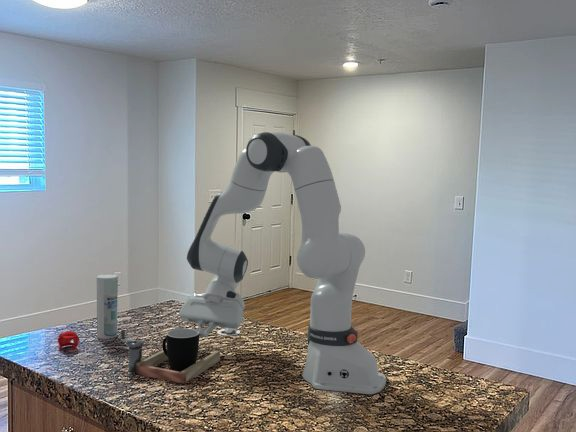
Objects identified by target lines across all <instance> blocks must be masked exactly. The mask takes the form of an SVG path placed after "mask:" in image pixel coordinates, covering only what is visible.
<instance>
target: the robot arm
mask: <svg viewBox="0 0 576 432" xmlns="http://www.w3.org/2000/svg"><path fill="white" fill-rule="evenodd" d="M275 172H276V173H287V174H288V175H289V176H290V179H291V180H292V185H293V189H294V193H295V198H296V201H297V202H296V203H297V204H298V209H299V215H300V219H301V241H300V242H301V244H300V246H299V248H298V251H297V255H296V262H297V266H298V268H299V271H300V272H301V273H302V275H304V276H306V277H308V278H309V279H318V280H317V284H316V286H315V289H314V291H313V292H312V293H311V297H310V309H309V310H310V313H309V324H308V327H307V328H308V329H307V346H308V347H307V348H308V349H307V355H306V360H305V365H304V369H303V371H302V374H301V375H302V379H304V380H305V381H306V382H308V383H309V384H311V385H312V387H313V388H314V389H316V390H323V391H334V392H343V393H353V394H365V395H374V394H377V393H379V392H381V391H382V390H383V389H384V388H385V387H386V384H387V377H386V376H385V373H382V372H380V371H379V367H378V363H377V359H376V357H375V355H374V354H373V353H371V352H370V351H369V350H368V349H367V348H366V347H364V346H363V345H362V344H361V343H360V342H359V341H358V338H359V329H355V328H354V327H353V326H352V310H353V309H352V307H353V305H352V303H353V297H354V291H355V287H356V283H357V278H358V275H359V271H360V267H361V265H362V263H363V262H364V259H365V258H366V248H365V245H364V242H363V241H362V240H361V239H360V238H359V237H358V236H355V235H353V234H350V233H346V232H340V230H339V225H340V223H339V219H340V214H341V211H342V206H341V205H342V204H341V202H340V201H341V200H340V197H339V194H338V191H337V187H336V182H335V179H334V176H333V172H332V169H331V167H330V164H329V162H328V160H327V157H326V156H325V154H324V151H323V150H322V149H321V148H319V147H318V146H315V145H311V143H310V142H309V141H308V140H307V139H306V138H304V137H303V136H301V135H297V134H289V133H285V132H269V131H268V132H267V131H264V132H259V133H257V134H255V135H253V136H251V138H250V139H249V140H248V142H247V144H246V148H244V149H242V151H240V154H239V155H238V158H237V160H236V162H235V165H234V168H233V170H232V174H231V177H230V181H229V184H228V186H227V187H226V188H225V189H224V191H219V192H217V194H216V195H215V196H214V197H213V199H212V201H211V202H210V205H209V207H208V209H207V211H206V213H205V216H204V217H203V219H202V222H201V223H200V227H199V229H198V230H197V233H196V235H195V236H194V239H193V241H192V242H191V244H190V246H189V248H188V251H187V254H186V260H187V263H188V264H189V265H190V268H191V269H192V270H196V271H202V272H206V273H209V274H212V275H213V276H212V279H211V281H209V283H208V285H207V288H206V290H205V292H204V294H196V293H194V294H192V295H190V296H188V297H187V298H186V300H185V302H184V304H183V305H182V307H181V308H180V310H179V312H178V315H179V317H180V319H181V320H182V321H183V322H186V323H192V324H193V323H194V324H197V328H198V329H197V331H198V332H199V338H200V337H201V338H208V337H209V334H210V333H212V332H213V331H214V330H215V329H216V327H219V328H220V327H221V328H225V327H226V328H233V329H237V330H238V328H240V327H241V325H242V322H243V318H244V314H245V313H244V309H245V307H246V304H245V301H244V300H243V298H242V296H241V295H240V294H239V293H237V292H236V290H237V287H238V286H239V285H240V282H242V281H243V279H244V277H245V274H246V272H247V269H248V266H249V265H248V264H249V261H248V258H247V256H246V254H245V252H244V251H243V250H241V249H239V248H236V247H233V246H229V245H225V244H223V243H219V242H216V241H214V240H213V239H212V234H213V232H214V230H215V228H216V226H217V224H218V222H219V219H220V218H221V217H222V216H225V215H231V214H233V215H235V214H236V215H237V214H246V213H250V212H252V211H254V210H256V209H258V208H259V207H260V206H261V205H262V203H263V201H264V198H265V195H266V193H267V189H268V185H269V181H270V178H271V176H272V174H273V173H275ZM206 326H207V327H206ZM205 327H206V329H203V328H205Z"/></svg>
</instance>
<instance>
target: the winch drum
mask: <svg viewBox="0 0 576 432" xmlns="http://www.w3.org/2000/svg"><path fill="white" fill-rule="evenodd" d="M120 338H121V342H126V346H127V348H128V372H130V373H136V363H138V362H140V361H142V360H143V346H144V345H145V341H144V340H139V339H138V340H137V339H131V338H126V330H125V329H121V330H120Z"/></svg>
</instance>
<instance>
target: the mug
mask: <svg viewBox="0 0 576 432" xmlns="http://www.w3.org/2000/svg"><path fill="white" fill-rule="evenodd" d="M199 343H200V336H199V332H198V329H194V328H188V327H187V328H175V329H170V330H168V331H167V332H166V336H165V337H164V338H163V340H162V346H161V347H162V350H163V351H164V353H165V355H166V356H167V357H168V360H167V362H168V366H169V368H170V370H173V371H178V372H181V371H183V370H185V369H186V368H188V367H190V366H192V365H193V364H195V363H197V362H198V361H197V360H198V355H199V347H200V344H199Z"/></svg>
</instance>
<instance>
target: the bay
mask: <svg viewBox="0 0 576 432" xmlns="http://www.w3.org/2000/svg"><path fill="white" fill-rule="evenodd" d="M166 360H167V361H168V357H167V356H166V355H165V353H164V351H163V349H161V350H159V351H158V352H156V353H155V354H153V355H149V357H146V358H145V359H142V361H140V362H138V363H136V372H135V373H136V375H140V376H143V377H148V378H154V379H159V380H165V381H169V382H173V383H178V384H179V383H180V384H183V385H184V384H186V383H187V382H189V381H191V380H192V379H194V378H195V377H197V376H199V375H200V374H202V373H203V372H205V371H206V369H207V370H208V369H210V368H212V367H213V366H214V365H217V364H218V363H220V361H221V350H215V351H214V352H212V353H211V354H209V355H207V356H205V357H203V358H201V359H200V360H198V361H196V363H195V364H193V365H192V366H190V367H188V368H186V369H185V370H183V371H181V372H178V371H173V370H171V369H167V368H163V367H157V366H159V365H161V364H163V363H165V362H166ZM164 361H165V362H164ZM162 362H163V363H162ZM160 363H161V364H160ZM158 364H159V365H158ZM156 365H157V366H156ZM209 367H210V368H209ZM198 374H199V375H198Z"/></svg>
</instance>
